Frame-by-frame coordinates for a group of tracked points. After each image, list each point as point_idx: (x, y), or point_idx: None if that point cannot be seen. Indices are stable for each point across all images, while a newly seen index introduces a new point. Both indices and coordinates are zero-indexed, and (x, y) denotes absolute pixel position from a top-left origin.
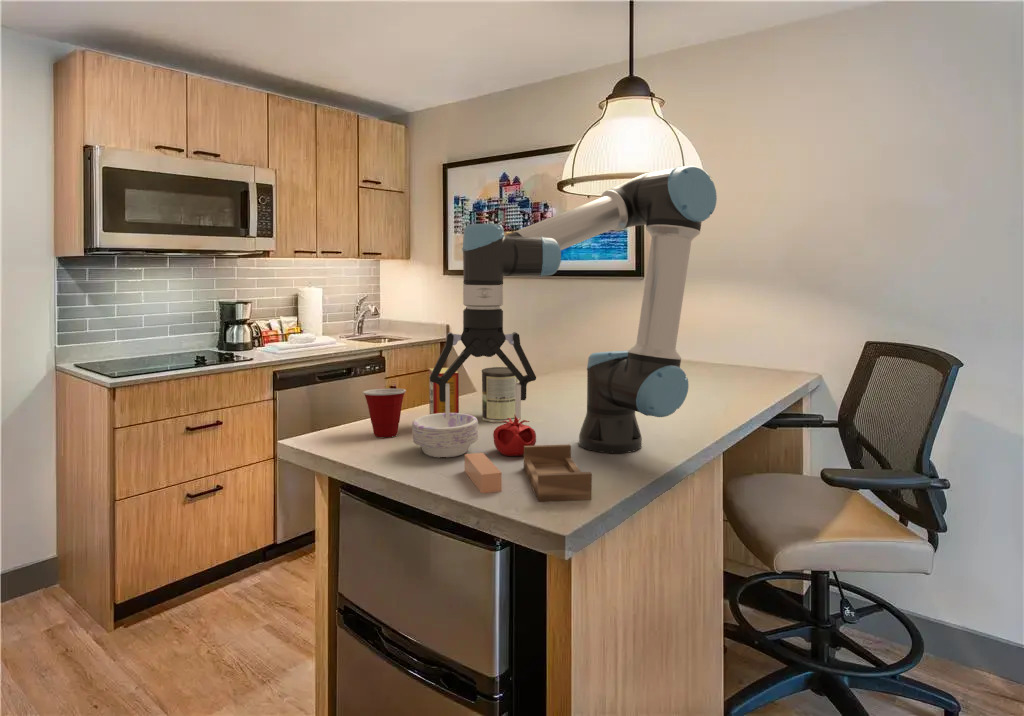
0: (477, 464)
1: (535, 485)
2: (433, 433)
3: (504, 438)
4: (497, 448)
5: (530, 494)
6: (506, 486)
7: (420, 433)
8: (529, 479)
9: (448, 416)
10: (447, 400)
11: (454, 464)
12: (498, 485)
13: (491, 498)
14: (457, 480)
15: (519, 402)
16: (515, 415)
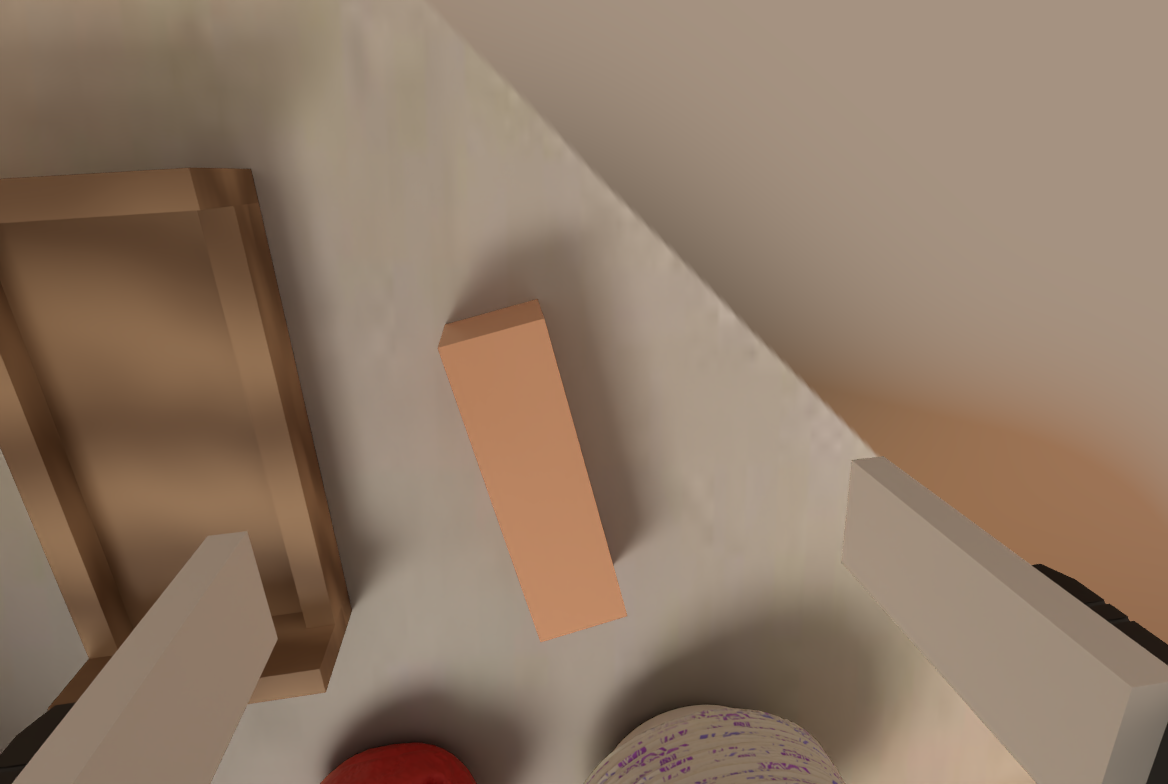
0: (565, 473)
1: (257, 278)
2: (785, 769)
3: None
4: (474, 780)
5: (300, 277)
6: (423, 385)
7: (836, 781)
8: (312, 453)
9: (877, 471)
10: (993, 556)
11: (653, 639)
12: (458, 328)
13: (490, 228)
14: (643, 458)
15: (136, 646)
16: (268, 615)
